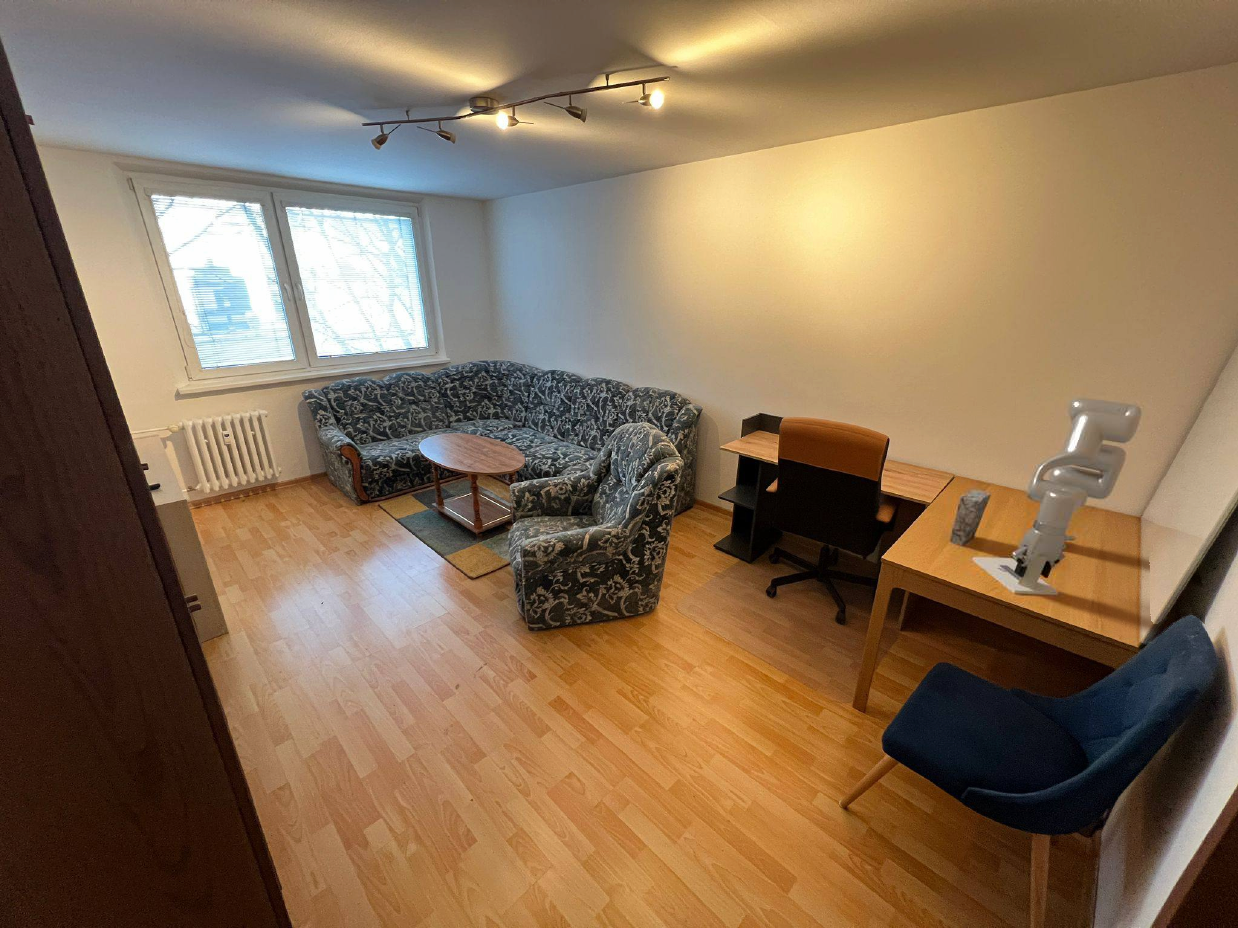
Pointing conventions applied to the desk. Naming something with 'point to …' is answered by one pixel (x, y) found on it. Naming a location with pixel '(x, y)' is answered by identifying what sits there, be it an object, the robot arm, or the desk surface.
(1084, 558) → the desk surface
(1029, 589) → the board
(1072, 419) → the robot arm
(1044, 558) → the skincare box
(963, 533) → the stone block
